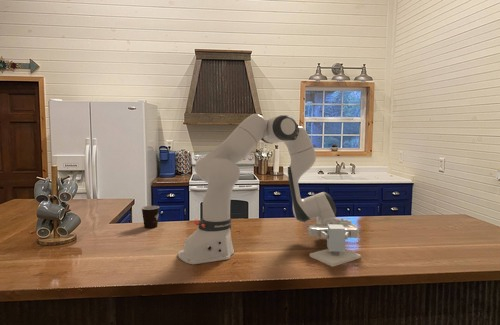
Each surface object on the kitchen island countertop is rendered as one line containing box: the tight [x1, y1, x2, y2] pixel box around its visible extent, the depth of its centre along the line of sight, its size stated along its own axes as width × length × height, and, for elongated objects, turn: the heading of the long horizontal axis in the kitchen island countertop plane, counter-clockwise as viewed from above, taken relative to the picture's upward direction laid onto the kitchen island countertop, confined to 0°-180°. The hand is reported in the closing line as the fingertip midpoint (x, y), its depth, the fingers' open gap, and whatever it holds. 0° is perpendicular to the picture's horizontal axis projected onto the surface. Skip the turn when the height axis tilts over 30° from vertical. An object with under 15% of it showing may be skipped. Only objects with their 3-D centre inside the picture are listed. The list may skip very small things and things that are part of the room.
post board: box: [309, 248, 362, 267], centre depth 134 cm, size 16×12×8 cm
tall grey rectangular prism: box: [326, 224, 346, 252], centre depth 134 cm, size 6×6×9 cm
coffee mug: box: [141, 205, 160, 230], centre depth 175 cm, size 12×9×10 cm
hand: (336, 237), depth 133 cm, fingers closed on tall grey rectangular prism, 6 cm apart
